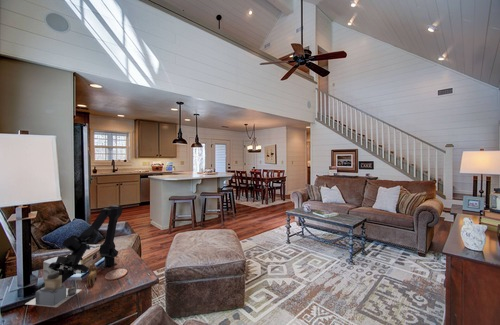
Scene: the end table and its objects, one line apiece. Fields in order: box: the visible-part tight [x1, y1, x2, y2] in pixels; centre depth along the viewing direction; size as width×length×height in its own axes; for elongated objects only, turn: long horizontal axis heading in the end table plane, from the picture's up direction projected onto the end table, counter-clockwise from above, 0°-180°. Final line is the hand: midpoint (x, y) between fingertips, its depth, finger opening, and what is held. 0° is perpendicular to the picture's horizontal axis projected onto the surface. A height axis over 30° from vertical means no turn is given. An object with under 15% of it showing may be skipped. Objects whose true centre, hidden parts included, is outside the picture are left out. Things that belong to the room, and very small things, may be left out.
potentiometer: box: [67, 286, 77, 297], centre depth 114 cm, size 4×4×3 cm
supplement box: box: [42, 256, 64, 284], centre depth 127 cm, size 7×7×13 cm
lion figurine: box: [86, 263, 98, 288], centre depth 126 cm, size 15×5×9 cm, turn 37°
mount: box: [25, 285, 82, 308], centre depth 112 cm, size 14×17×8 cm
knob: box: [44, 272, 63, 291], centre depth 109 cm, size 4×5×12 cm
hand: (57, 285), depth 111 cm, fingers closed, pressing on knob
